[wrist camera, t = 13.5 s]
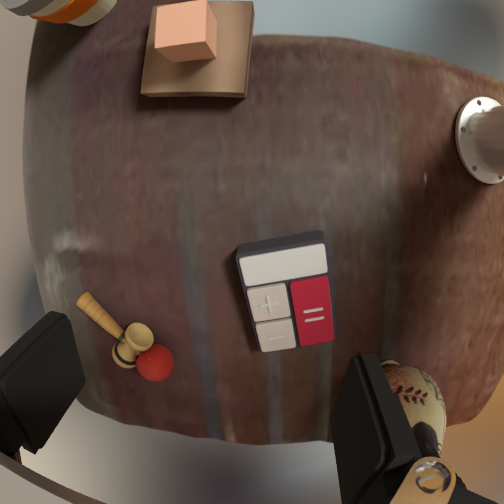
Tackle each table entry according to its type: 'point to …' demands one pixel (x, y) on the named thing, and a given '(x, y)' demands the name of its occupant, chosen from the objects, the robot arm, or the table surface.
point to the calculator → (288, 290)
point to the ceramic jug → (420, 406)
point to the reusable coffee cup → (62, 10)
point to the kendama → (131, 343)
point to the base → (205, 70)
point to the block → (186, 31)
